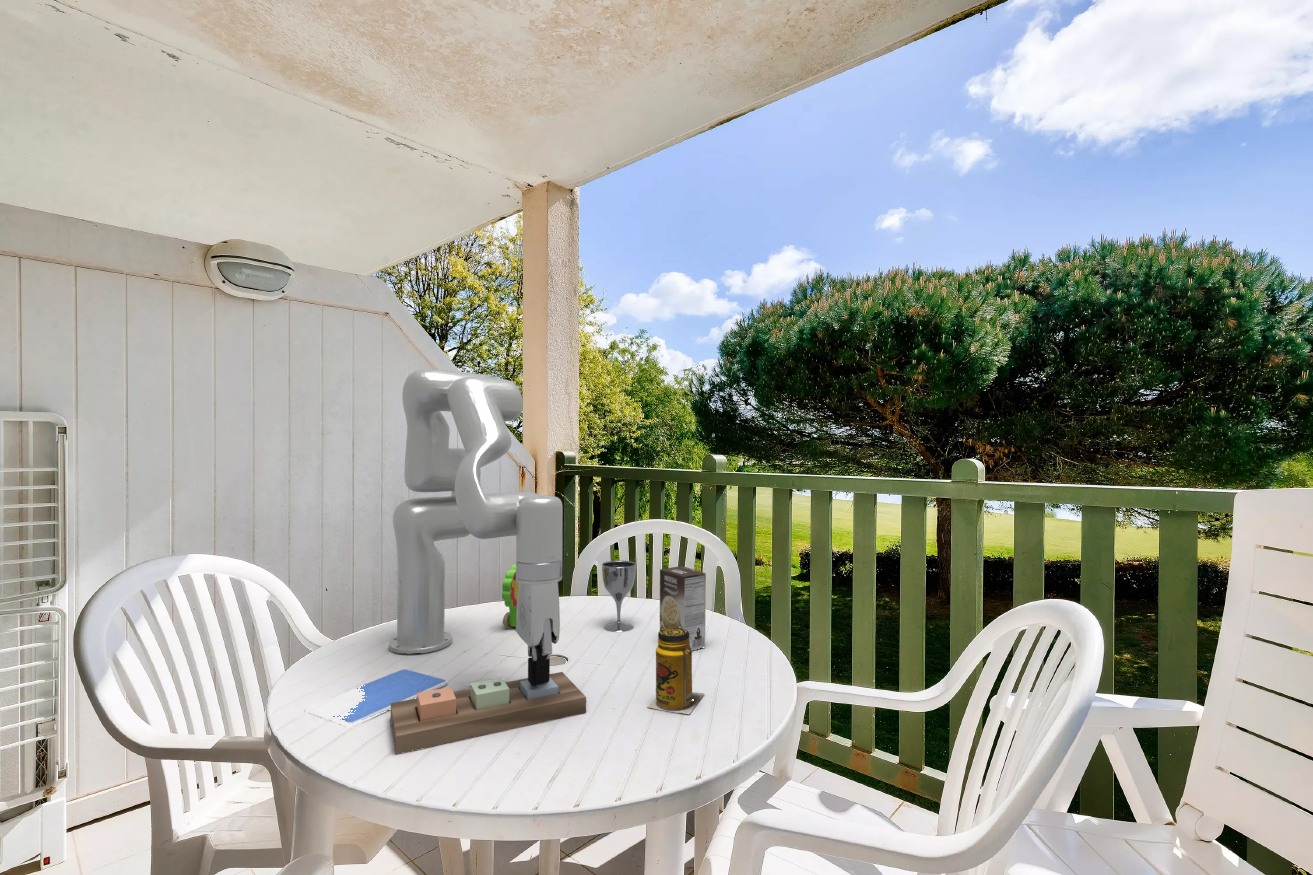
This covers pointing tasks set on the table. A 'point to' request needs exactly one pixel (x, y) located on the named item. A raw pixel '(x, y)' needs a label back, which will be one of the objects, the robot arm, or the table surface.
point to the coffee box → (684, 602)
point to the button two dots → (489, 693)
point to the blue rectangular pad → (392, 692)
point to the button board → (483, 715)
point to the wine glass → (618, 588)
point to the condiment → (674, 672)
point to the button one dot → (436, 704)
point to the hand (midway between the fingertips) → (538, 681)
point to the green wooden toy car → (510, 597)
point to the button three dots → (538, 689)
